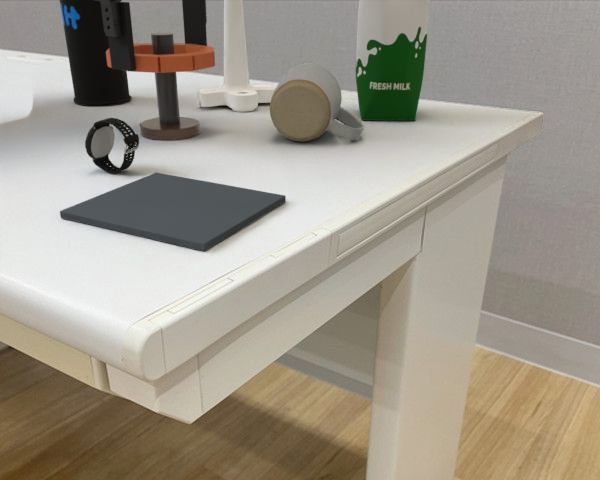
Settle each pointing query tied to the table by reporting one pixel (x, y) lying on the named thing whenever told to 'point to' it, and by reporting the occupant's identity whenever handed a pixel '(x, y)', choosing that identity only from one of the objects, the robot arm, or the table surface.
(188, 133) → the post
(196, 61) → the ring
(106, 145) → the smartwatch
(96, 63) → the aerosol can
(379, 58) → the milk carton
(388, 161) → the table surface
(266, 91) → the white footed stand
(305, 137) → the ceramic mug
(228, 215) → the mat
